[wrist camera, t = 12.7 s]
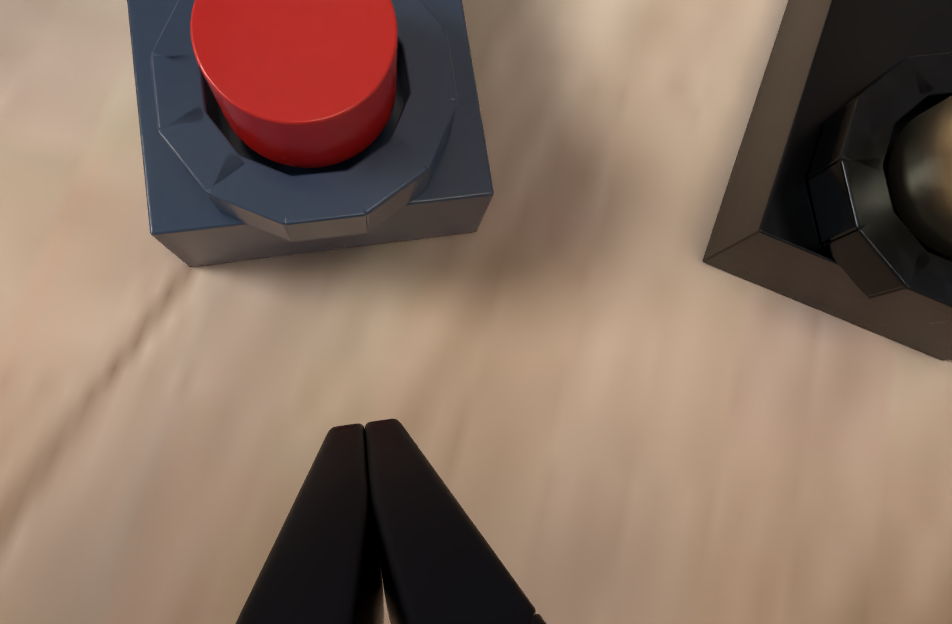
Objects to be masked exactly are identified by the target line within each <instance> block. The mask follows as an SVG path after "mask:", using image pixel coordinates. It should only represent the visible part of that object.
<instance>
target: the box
mask: <svg viewBox="0 0 952 624" xmlns="http://www.w3.org/2000/svg"><path fill="white" fill-rule="evenodd" d="M194 1H195V0H127V4H128V14H129V24H130V34H131V44H132V54H133V64H134V74H135V84H136V94H137V104H138V114H139V125H140V135H141V145H142V155H143V165H144V175H145V185H146V195H147V205H148V215H149V225H150V233H151V235H152V236H153V237H155V238H156V239H157V240H158V241H159V242H161V243H162V244H163V245H164V246H165V247H167V248H168V249H169V250H170V251H171V252H173V253H174V254H175V255H176V256H177V257H179V258H180V259H181V260H182V261H183V262H185V263H186V264H187V265H188V266H190V267H195V266H203V265H211V264H219V263H227V262H235V261H243V260H251V259H259V258H267V257H275V256H283V255H292V254H300V253H308V252H316V251H324V250H332V249H340V248H348V247H356V246H364V245H372V244H380V243H389V242H397V241H405V240H413V239H421V238H429V237H437V236H445V235H453V234H461V233H469V232H476V231H477V229H478V227H479V225H480V223H481V221H482V218H483V216H484V214H485V212H486V210H487V207H488V205H489V203H490V201H491V199H492V196H493V194H494V192H493V186H492V179H491V173H490V167H489V161H488V155H487V149H486V143H485V137H484V131H483V125H482V119H481V113H480V107H479V101H478V95H477V89H476V83H475V77H474V71H473V65H472V59H471V53H470V47H469V41H468V35H467V29H466V23H465V17H464V11H463V5H462V0H391V1H392V4H393V7H394V10H395V15H396V19H397V29H398V43H397V78H396V98H395V103H394V107H393V110H392V113H391V116H390V118H389V120H388V122H387V124H386V126H385V128H384V129H383V131H382V132H381V133H380V135H379V136H378V137H377V138H376V139H375V140H374V142H373V143H372V144H371V145H369V146H368V147H367V148H366V149H364V150H363V151H362V152H360V153H359V154H357V155H355V156H354V157H352V158H350V159H348V160H345V161H343V162H340V163H337V164H334V165H330V166H324V167H316V168H302V167H293V166H288V165H283V164H280V163H277V162H274V161H272V160H270V159H268V158H265V157H263V156H261V155H260V154H258V153H257V152H255V151H254V150H252V149H251V148H250V147H249V146H247V145H246V144H245V143H244V142H243V141H242V140H241V139H240V138H239V137H238V136H237V135H236V134H235V132H234V131H233V129H232V128H231V127H230V125H229V124H228V122H227V120H226V118H225V116H224V114H223V112H222V110H221V108H220V106H219V104H218V102H217V100H216V98H215V96H214V94H213V92H212V90H211V88H210V87H209V85H208V83H207V81H206V79H205V77H204V75H203V73H202V71H201V69H200V67H199V65H198V63H197V60H196V58H195V55H194V52H193V48H192V42H191V35H190V21H191V12H192V9H193V5H194Z"/></svg>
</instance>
